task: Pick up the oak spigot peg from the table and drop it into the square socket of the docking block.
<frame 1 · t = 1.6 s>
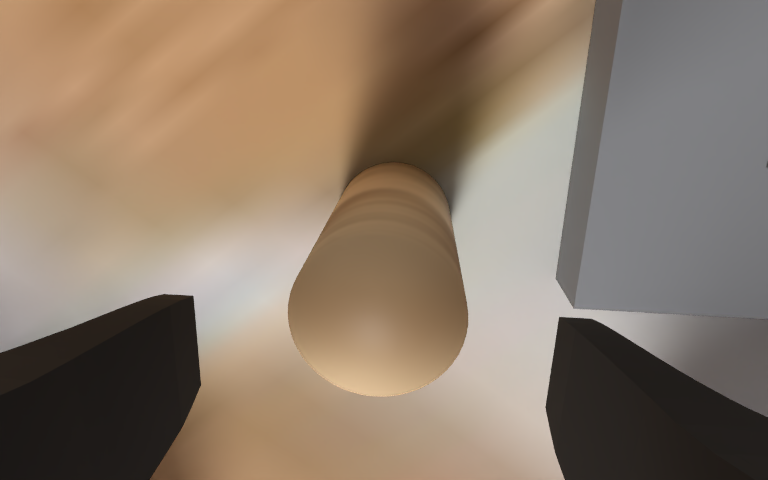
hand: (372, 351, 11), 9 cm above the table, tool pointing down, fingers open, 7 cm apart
spigot peg: (393, 217, 20), on the table
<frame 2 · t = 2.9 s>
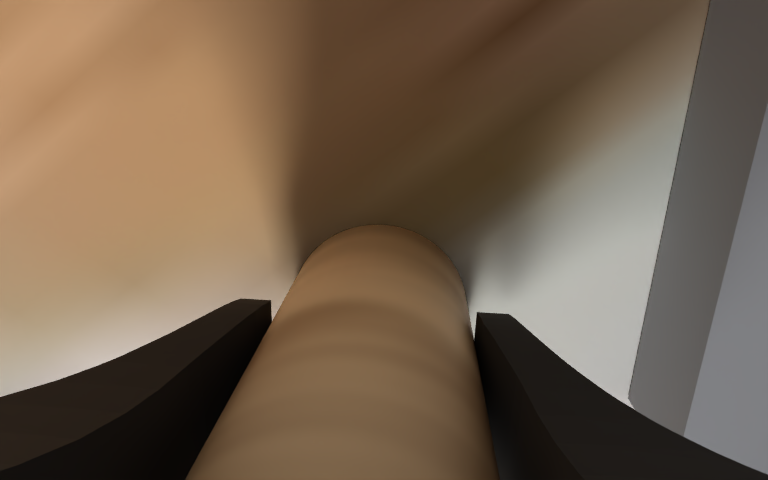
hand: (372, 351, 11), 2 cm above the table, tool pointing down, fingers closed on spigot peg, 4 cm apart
spigot peg: (379, 307, 13), on the table, touching gripper
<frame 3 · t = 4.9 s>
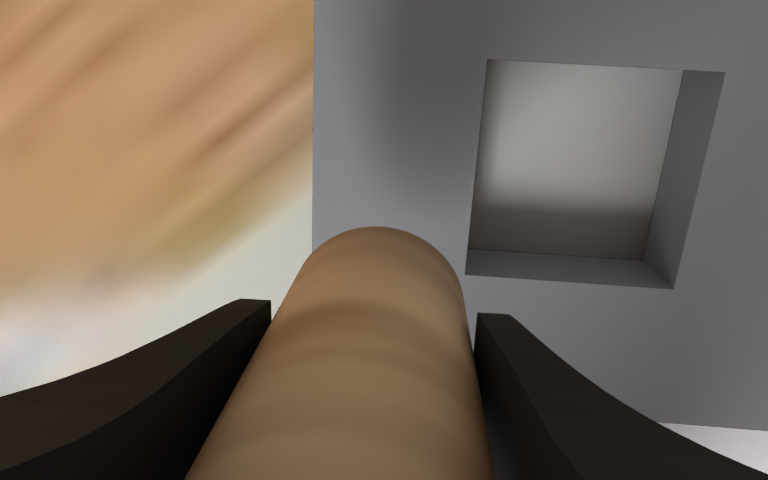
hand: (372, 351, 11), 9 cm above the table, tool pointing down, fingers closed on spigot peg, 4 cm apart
spigot peg: (377, 308, 13), point 7 cm above the table, touching gripper
docking block: (564, 164, 18), on the table
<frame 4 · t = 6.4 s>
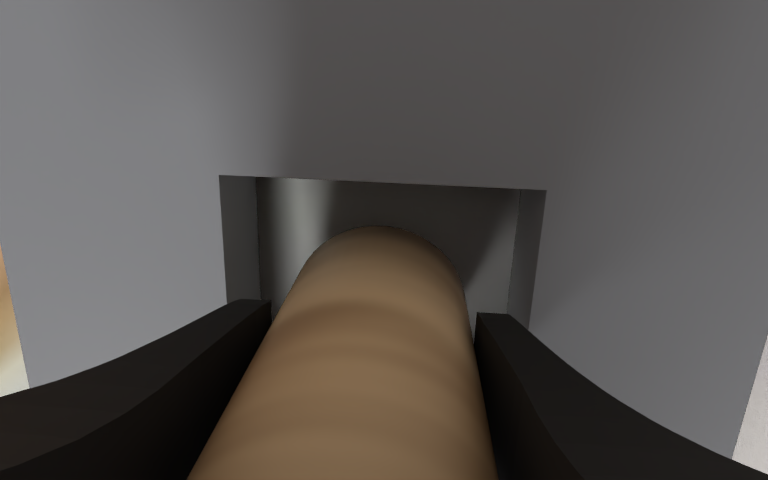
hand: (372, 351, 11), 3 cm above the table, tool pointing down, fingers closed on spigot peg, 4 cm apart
spigot peg: (378, 307, 13), point 1 cm above the table, touching gripper
docking block: (383, 283, 14), on the table
when the fingers open (3 cm above the table, at t = 7.2 s): spigot peg drops 1 cm, resting in docking block.
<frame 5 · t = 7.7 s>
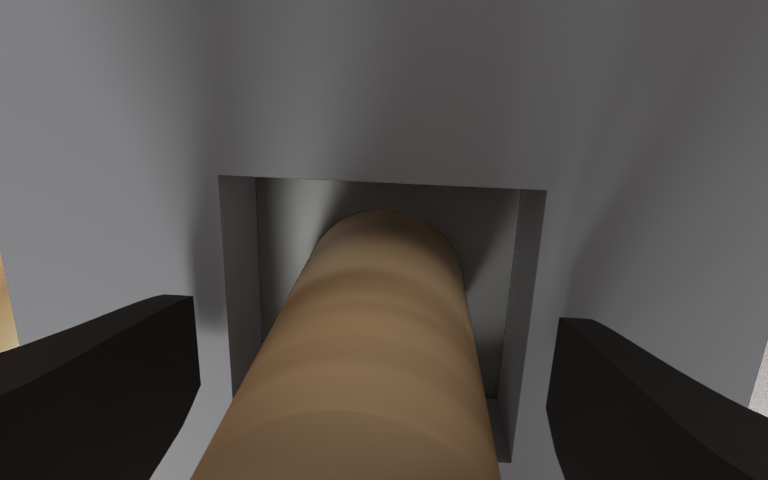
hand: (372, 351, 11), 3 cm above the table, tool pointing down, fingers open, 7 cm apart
spigot peg: (383, 284, 14), resting in docking block
docking block: (383, 283, 14), on the table
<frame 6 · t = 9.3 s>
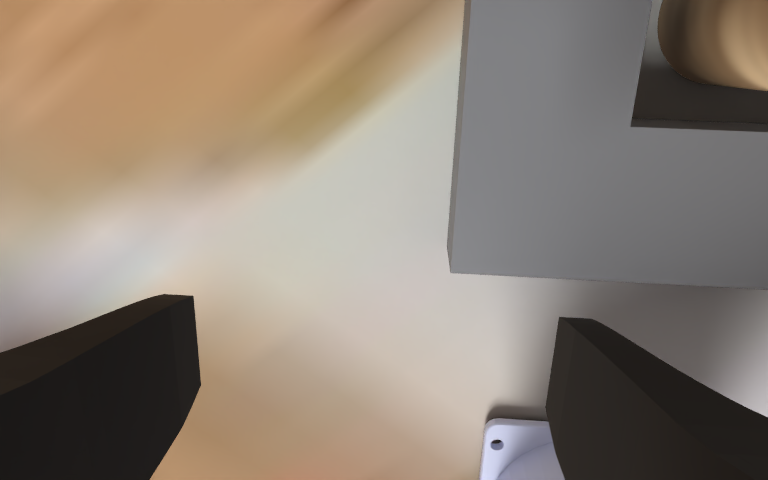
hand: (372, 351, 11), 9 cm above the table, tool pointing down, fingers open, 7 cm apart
spigot peg: (724, 17, 17), resting in docking block
docking block: (725, 15, 17), on the table
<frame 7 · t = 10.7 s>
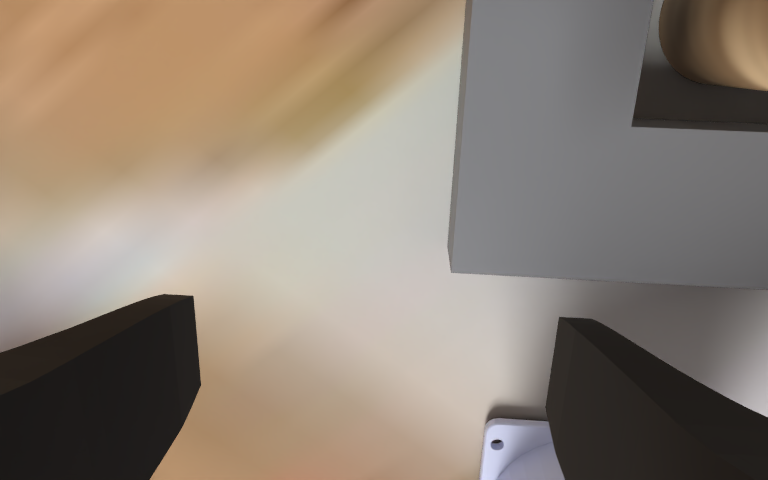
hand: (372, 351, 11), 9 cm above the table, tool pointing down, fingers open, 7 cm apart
spigot peg: (726, 17, 17), resting in docking block
docking block: (726, 15, 17), on the table
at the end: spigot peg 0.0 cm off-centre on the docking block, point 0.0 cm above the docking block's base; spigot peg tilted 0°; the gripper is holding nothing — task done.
